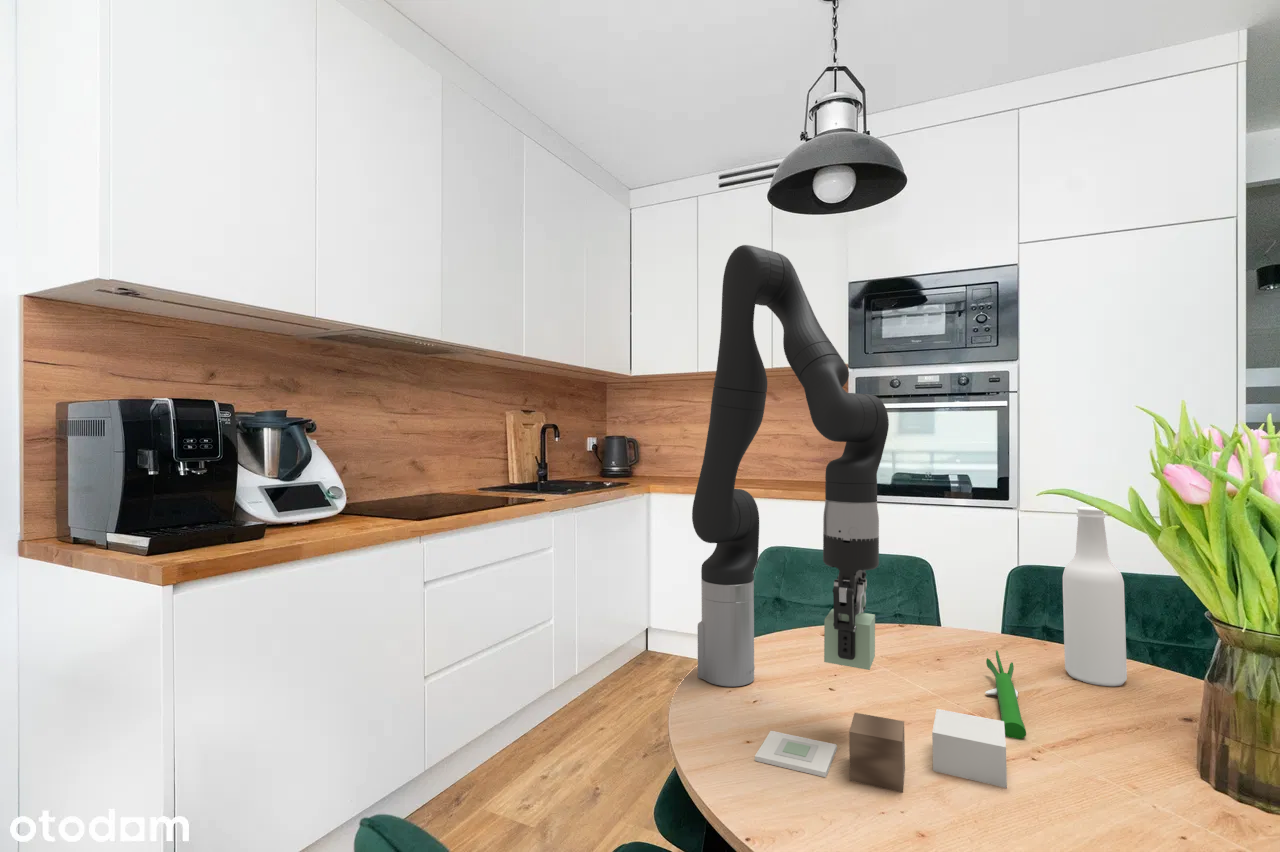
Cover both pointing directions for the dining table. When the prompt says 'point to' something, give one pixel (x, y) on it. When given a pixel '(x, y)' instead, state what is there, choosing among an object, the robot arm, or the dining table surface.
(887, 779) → the walnut block
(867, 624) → the sage block
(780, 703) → the dining table surface
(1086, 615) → the alcohol
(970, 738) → the grey base block
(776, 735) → the card
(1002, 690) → the green onion
